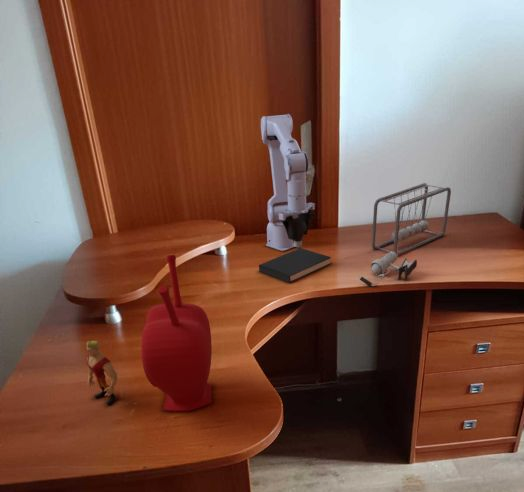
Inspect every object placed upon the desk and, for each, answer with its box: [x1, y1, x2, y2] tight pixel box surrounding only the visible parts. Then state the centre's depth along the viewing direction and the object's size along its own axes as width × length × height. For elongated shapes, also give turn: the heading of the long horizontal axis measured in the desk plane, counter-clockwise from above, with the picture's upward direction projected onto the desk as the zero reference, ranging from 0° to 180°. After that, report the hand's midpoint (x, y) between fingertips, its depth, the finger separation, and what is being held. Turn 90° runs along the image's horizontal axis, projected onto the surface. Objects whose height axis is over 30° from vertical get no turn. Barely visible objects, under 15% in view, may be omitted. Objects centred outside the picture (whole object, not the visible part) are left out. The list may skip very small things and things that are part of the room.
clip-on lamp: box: [358, 250, 418, 287], centre depth 157 cm, size 12×6×18 cm
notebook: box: [258, 247, 332, 284], centre depth 168 cm, size 14×20×2 cm
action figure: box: [86, 340, 118, 406], centre depth 109 cm, size 10×4×15 cm, turn 51°
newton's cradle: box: [371, 182, 452, 256], centre depth 178 cm, size 30×10×18 cm, turn 130°
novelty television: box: [140, 254, 213, 413], centre depth 104 cm, size 21×13×30 cm, turn 4°
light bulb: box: [293, 217, 306, 249], centre depth 164 cm, size 6×6×10 cm
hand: (297, 236), depth 165 cm, fingers closed on light bulb, 5 cm apart
